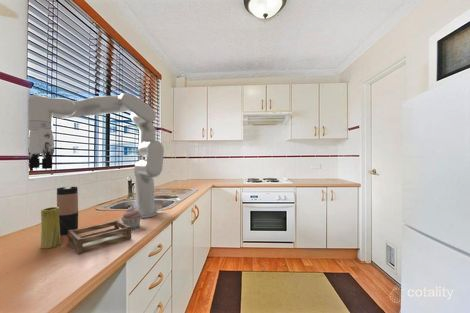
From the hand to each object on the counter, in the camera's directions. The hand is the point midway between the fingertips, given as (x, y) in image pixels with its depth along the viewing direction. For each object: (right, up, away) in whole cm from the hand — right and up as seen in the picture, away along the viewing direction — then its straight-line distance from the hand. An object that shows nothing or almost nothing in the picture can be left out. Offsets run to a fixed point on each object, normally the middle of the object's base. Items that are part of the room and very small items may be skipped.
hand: (40, 168), depth 92 cm
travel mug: (+5, -29, +9) cm, 31 cm away
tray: (+26, -29, -2) cm, 39 cm away
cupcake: (+31, -29, +15) cm, 45 cm away
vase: (+9, -30, -6) cm, 32 cm away
